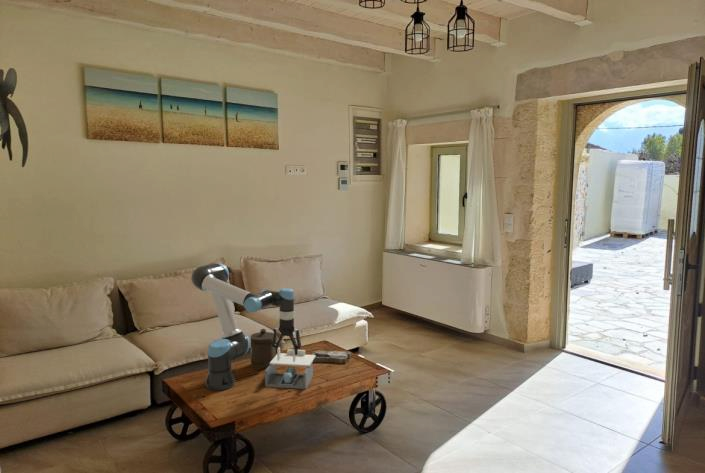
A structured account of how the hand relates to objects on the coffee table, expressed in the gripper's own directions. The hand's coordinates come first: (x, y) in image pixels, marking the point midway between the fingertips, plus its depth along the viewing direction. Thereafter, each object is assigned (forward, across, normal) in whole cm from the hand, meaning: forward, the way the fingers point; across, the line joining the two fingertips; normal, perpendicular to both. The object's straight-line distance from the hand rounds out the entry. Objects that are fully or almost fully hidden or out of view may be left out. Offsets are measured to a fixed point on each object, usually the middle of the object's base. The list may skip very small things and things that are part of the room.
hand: (286, 360), depth 252 cm
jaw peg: (+13, +1, 0) cm, 13 cm away
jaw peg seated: (+13, +1, +7) cm, 15 cm away
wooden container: (+15, -21, +26) cm, 37 cm away
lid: (+4, +1, +12) cm, 12 cm away
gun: (+15, +15, +42) cm, 47 cm away
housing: (+14, +1, +4) cm, 15 cm away
